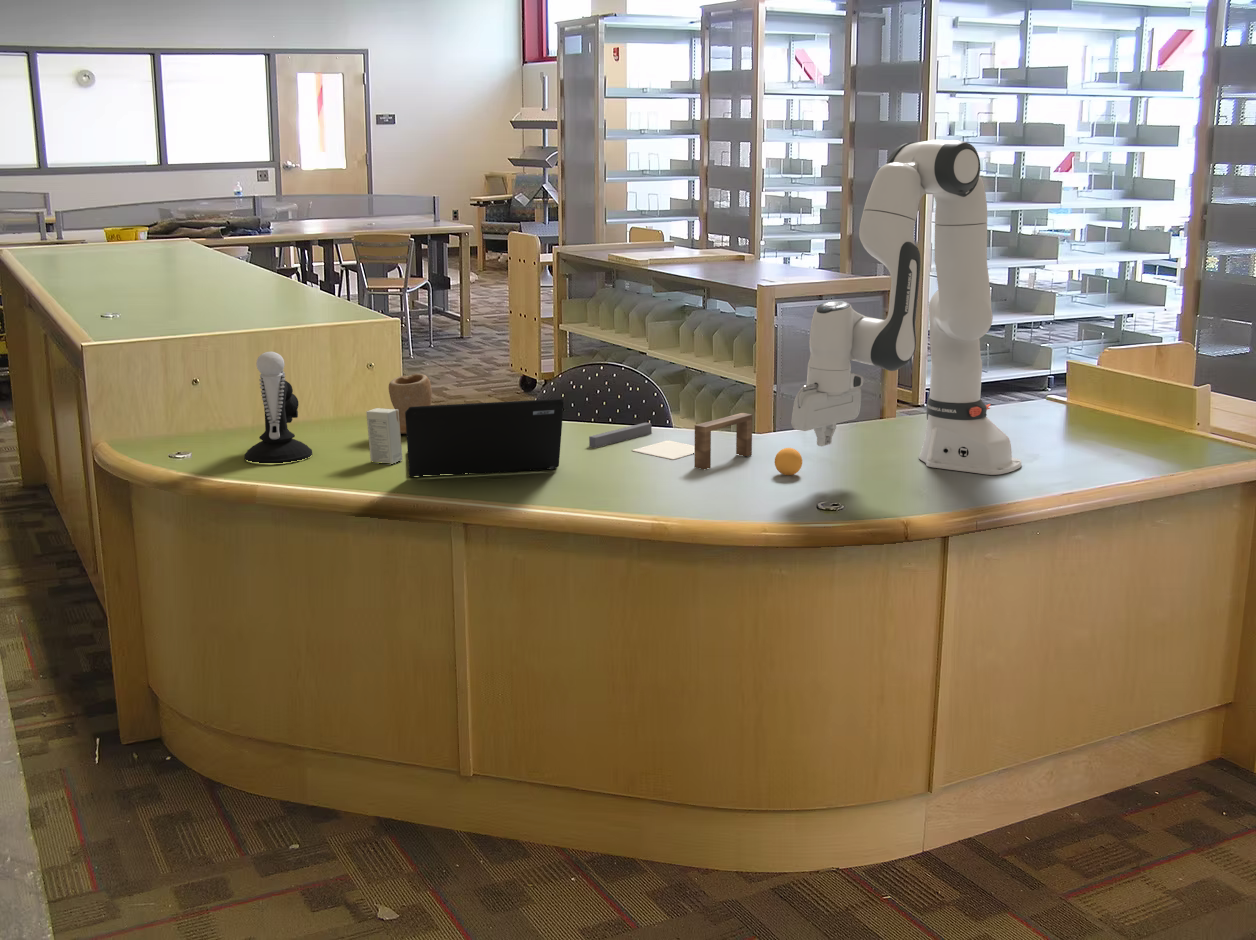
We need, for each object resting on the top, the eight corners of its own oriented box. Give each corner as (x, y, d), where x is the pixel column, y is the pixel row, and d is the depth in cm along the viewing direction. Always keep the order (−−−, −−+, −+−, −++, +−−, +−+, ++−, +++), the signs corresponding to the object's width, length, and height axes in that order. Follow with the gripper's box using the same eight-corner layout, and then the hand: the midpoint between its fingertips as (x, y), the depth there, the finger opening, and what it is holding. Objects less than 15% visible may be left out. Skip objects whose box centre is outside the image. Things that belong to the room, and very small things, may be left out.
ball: (807, 474, 275) (808, 447, 274) (791, 480, 271) (791, 453, 270) (785, 470, 279) (785, 443, 278) (768, 475, 275) (769, 448, 273)
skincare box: (403, 461, 290) (400, 409, 287) (392, 465, 286) (389, 412, 283) (380, 458, 293) (377, 406, 289) (368, 462, 289) (365, 410, 286)
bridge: (751, 455, 292) (752, 414, 290) (704, 469, 280) (705, 427, 278) (741, 453, 294) (742, 412, 292) (694, 467, 282) (694, 425, 280)
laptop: (547, 447, 304) (545, 367, 299) (567, 488, 268) (565, 399, 263) (407, 454, 298) (403, 373, 293) (408, 497, 263) (403, 406, 258)
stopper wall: (651, 433, 315) (651, 423, 314) (595, 447, 300) (595, 437, 300) (645, 432, 316) (645, 422, 315) (589, 446, 302) (589, 436, 301)
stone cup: (384, 439, 312) (380, 379, 308) (396, 428, 323) (393, 370, 319) (444, 439, 310) (441, 379, 307) (454, 428, 322) (452, 370, 318)
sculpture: (239, 466, 287) (229, 357, 280) (257, 442, 309) (249, 341, 303) (307, 464, 288) (299, 355, 282) (321, 440, 311) (313, 339, 304)
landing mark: (709, 449, 298) (709, 448, 298) (673, 459, 289) (673, 459, 289) (667, 441, 306) (667, 440, 306) (631, 450, 297) (631, 450, 297)
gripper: (811, 389, 253) (807, 455, 257) (867, 377, 268) (863, 440, 271) (786, 384, 257) (782, 450, 261) (843, 372, 272) (838, 435, 275)
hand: (824, 445), depth 266 cm, fingers closed
